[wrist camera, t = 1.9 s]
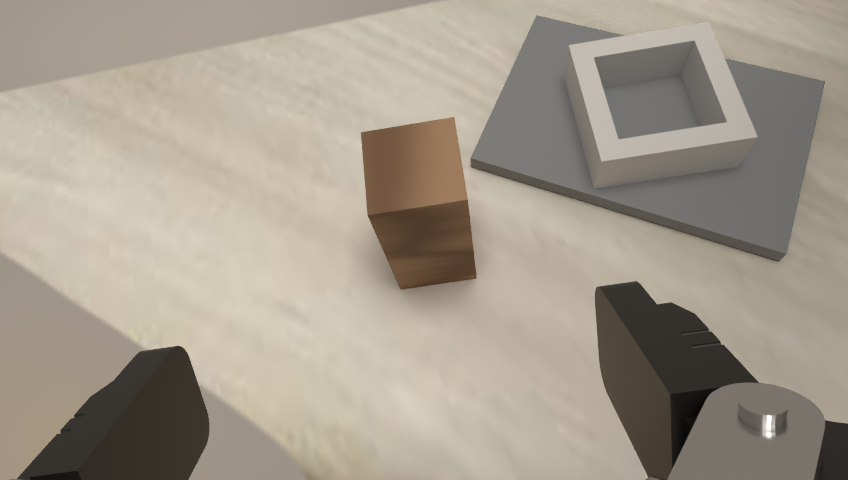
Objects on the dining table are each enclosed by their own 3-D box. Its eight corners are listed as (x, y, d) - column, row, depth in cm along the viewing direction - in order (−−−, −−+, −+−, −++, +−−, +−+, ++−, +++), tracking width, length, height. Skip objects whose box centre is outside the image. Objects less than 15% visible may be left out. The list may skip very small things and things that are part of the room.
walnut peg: (465, 210, 37) (454, 117, 28) (476, 278, 35) (467, 199, 26) (394, 222, 37) (361, 132, 28) (401, 289, 35) (367, 215, 26)
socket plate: (817, 92, 37) (850, 46, 33) (778, 261, 33) (812, 229, 29) (535, 26, 42) (538, -21, 38) (471, 166, 38) (468, 129, 34)
